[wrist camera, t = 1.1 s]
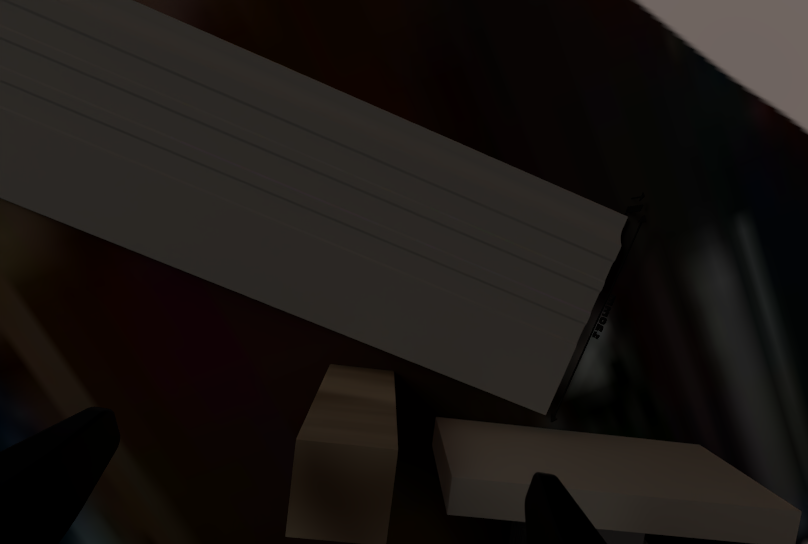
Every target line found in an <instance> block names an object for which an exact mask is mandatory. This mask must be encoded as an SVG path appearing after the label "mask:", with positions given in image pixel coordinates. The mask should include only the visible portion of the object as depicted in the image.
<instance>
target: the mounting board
mask: <svg viewBox="0 0 808 544" xmlns="http://www.w3.org/2000/svg"><path fill="white" fill-rule="evenodd" d="M432 448H433V452H434V457H435V461H436V466H437V471H438V475H439V480H440V484H441V489H442V493H443V498H444V503H445V507H446V512H447V515H457V516H467V517H478V518H488V519H499V520H509V521H520V522H525V497H526V494H527V491H528V489H529V486H530V483H531V480H532V478H533V475H534V474H535V473H536V472H542V473H549V474H553V475H555V476H557V477H558V479H559V480H560V481H561V482H562V484H563V485H564V487H565V488H566V489H567V491H568V492H569V493H570V495H571V496H572V497H573V499H574V500H575V501H576V503H577V504H578V505H579V507H580V508H581V509H582V511H583V512H584V513H585V515H586V516H587V517H588V519H589V520H590V521H591V523H592V524H593V525H594V527H595V528H596V529H605V530H615V531H626V532H636V533H647V534H657V535H668V536H679V537H689V538H700V539H710V540H721V541H731V542H742V543H753V544H795V543H796V538H797V533H798V528H799V523H800V518H801V513H802V511H800V510H799V509H797V508H795V507H794V506H792V505H791V504H789V503H788V502H786V501H785V500H783V499H782V498H780V497H779V496H777V495H776V494H774V493H773V492H771V491H769V490H768V489H766V488H765V487H763V486H762V485H760V484H759V483H757V482H756V481H754V480H753V479H751V478H750V477H748V476H747V475H745V474H744V473H742V472H740V471H739V470H737V469H736V468H734V467H733V466H731V465H730V464H728V463H727V462H725V461H724V460H722V459H721V458H719V457H718V456H716V455H714V454H713V453H711V452H710V451H708V450H707V449H705V448H704V447H702V446H701V445H697V444H688V443H679V442H669V441H660V440H650V439H641V438H631V437H622V436H612V435H603V434H593V433H584V432H575V431H565V430H556V429H546V428H537V427H527V426H518V425H508V424H499V423H489V422H480V421H471V420H461V419H452V418H442V417H436V419H435V426H434V434H433V441H432Z"/></svg>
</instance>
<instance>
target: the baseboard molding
mask: <svg viewBox="0 0 808 544" xmlns="http://www.w3.org/2000/svg"><path fill="white" fill-rule="evenodd" d="M644 197H645V196H644V193H642V195H641V196H640V197H634V198H631V199H635V198H640V200H639V201H641V200H642V199H643V198H644ZM0 198H2V199H4V200H7V201H9V202H12V203H15V204H17V205H20V206H22V207H25V208H27V209H30V210H32V211H35V212H37V213H40V214H42V215H45V216H47V217H50V218H52V219H55V220H57V221H60V222H62V223H65V224H67V225H70V226H72V227H75V228H77V229H80V230H82V231H85V232H87V233H90V234H92V235H95V236H97V237H100V238H102V239H105V240H107V241H110V242H112V243H115V244H117V245H120V246H122V247H125V248H127V249H130V250H132V251H135V252H137V253H140V254H142V255H145V256H147V257H150V258H153V259H155V260H158V261H160V262H163V263H165V264H168V265H170V266H173V267H175V268H178V269H180V270H183V271H185V272H188V273H190V274H193V275H195V276H198V277H200V278H203V279H205V280H208V281H210V282H213V283H215V284H218V285H220V286H223V287H225V288H228V289H230V290H233V291H235V292H238V293H240V294H243V295H245V296H248V297H250V298H253V299H255V300H258V301H260V302H263V303H265V304H268V305H270V306H273V307H275V308H278V309H280V310H283V311H286V312H288V313H291V314H293V315H296V316H298V317H301V318H303V319H306V320H308V321H311V322H313V323H316V324H318V325H321V326H323V327H326V328H328V329H331V330H333V331H336V332H338V333H341V334H343V335H346V336H348V337H351V338H353V339H356V340H358V341H361V342H363V343H366V344H368V345H371V346H373V347H376V348H378V349H381V350H383V351H386V352H388V353H391V354H393V355H396V356H398V357H401V358H403V359H406V360H408V361H411V362H413V363H416V364H419V365H421V366H424V367H426V368H429V369H431V370H434V371H436V372H439V373H441V374H444V375H446V376H449V377H451V378H454V379H456V380H459V381H461V382H464V383H466V384H469V385H471V386H474V387H476V388H479V389H481V390H484V391H486V392H489V393H491V394H494V395H496V396H499V397H501V398H504V399H506V400H509V401H511V402H514V403H516V404H519V405H521V406H524V407H526V408H529V409H531V410H534V411H536V412H539V413H541V414H544V415H546V413H547V411H548V409H549V406H550V404H551V402H552V400H553V398H554V395H555V393H556V391H557V389H558V386H559V384H560V382H561V380H562V377H563V375H564V373H565V371H566V369H567V366H568V364H569V362H570V360H571V357H572V355H573V353H574V351H575V349H576V346H577V342H578V340H579V337H580V335H581V333H582V331H583V328H584V326H585V325H586V324H587V322H588V320H589V317H590V315H591V311H592V308H593V306H594V304H595V302H596V299H597V297H598V295H599V293H600V292H601V291H602V288H603V286H604V284H605V279H606V277H607V275H608V273H609V270H610V268H611V266H612V264H613V262H614V261H615V259H616V257H617V255H618V253H619V250H620V248H621V246H622V245H621V232H622V229H623V227H624V225H625V222H626V220H627V218H628V217H627V216H625V215H626V214H627V213H625V215H622V214H620V213H618V212H615V211H613V210H611V209H609V208H606V207H604V206H602V205H599V204H597V203H595V202H593V201H590V200H588V199H586V198H583V197H581V196H579V195H577V194H574V193H572V192H570V191H567V190H565V189H563V188H561V187H558V186H556V185H554V184H551V183H549V182H547V181H545V180H542V179H540V178H538V177H535V176H533V175H531V174H529V173H526V172H524V171H522V170H519V169H517V168H515V167H513V166H510V165H508V164H506V163H503V162H501V161H499V160H497V159H494V158H492V157H490V156H487V155H485V154H483V153H481V152H478V151H476V150H474V149H471V148H469V147H467V146H465V145H462V144H460V143H458V142H455V141H453V140H451V139H449V138H446V137H444V136H442V135H439V134H437V133H435V132H433V131H430V130H428V129H426V128H423V127H421V126H419V125H417V124H414V123H412V122H410V121H407V120H405V119H403V118H401V117H398V116H396V115H394V114H391V113H389V112H387V111H385V110H382V109H380V108H378V107H375V106H373V105H371V104H369V103H366V102H364V101H362V100H359V99H357V98H355V97H353V96H350V95H348V94H346V93H343V92H341V91H339V90H337V89H334V88H332V87H330V86H327V85H325V84H323V83H321V82H318V81H316V80H314V79H311V78H309V77H307V76H305V75H302V74H300V73H298V72H295V71H293V70H291V69H289V68H286V67H284V66H282V65H279V64H277V63H275V62H273V61H270V60H268V59H266V58H263V57H261V56H259V55H257V54H254V53H252V52H250V51H247V50H245V49H243V48H241V47H238V46H236V45H234V44H231V43H229V42H227V41H225V40H222V39H220V38H218V37H215V36H213V35H211V34H209V33H206V32H204V31H202V30H199V29H197V28H195V27H193V26H190V25H188V24H186V23H183V22H181V21H179V20H177V19H174V18H172V17H170V16H167V15H165V14H163V13H161V12H158V11H156V10H154V9H151V8H149V7H147V6H145V5H142V4H140V3H138V2H135V1H133V0H0ZM640 206H641V207H640ZM642 207H643V205H639V206H638V205H637V206H630V208H629V207H628V208H627V210H626V212H628V213H629V212H638V211H641V209H642ZM639 208H640V209H639ZM638 222H641V223H640V225H639V227H638V229H637V232H636V234H635V236H634V238H633V240H632V243H631V245H630V247H629V249H628V252H627V254H626V256H625V258H624V260H623V263H622V265H621V267H620V269H619V272H618V274H617V276H616V278H615V280H614V283H613V285H612V287H611V289H610V292H609V294H608V296H607V298H606V300H605V303H604V305H603V307H602V309H601V312H600V314H599V316H598V318H597V320H596V323H595V325H594V327H593V329H592V332H591V334H590V336H589V338H588V340H587V343H586V345H585V347H584V349H583V352H582V354H581V356H580V358H579V360H578V363H577V365H576V367H575V369H574V372H573V374H572V376H571V378H570V380H569V383H568V385H567V387H566V389H565V392H564V394H563V396H562V398H561V400H560V403H559V405H558V407H557V409H556V412H555V414H554V415H553V414H552V413H551V422H553V421H555V420H557V418H556V417H555V415H556V413H557V411H558V408H559V406H560V404H561V402H562V399H563V397H564V395H565V393H566V391H567V388H568V386H569V384H570V382H571V379H572V377H573V375H574V373H575V371H576V368H577V366H578V364H579V362H580V359H581V357H582V355H583V353H584V351H585V348H586V346H587V344H588V342H589V340H590V337H591V335H592V333H593V331H594V328H595V326H596V324H597V322H598V320H599V317H600V315H601V313H602V311H603V308H604V306H605V304H606V302H607V300H608V297H609V295H610V293H611V291H612V288H613V286H614V284H615V282H616V280H617V277H618V275H619V273H620V271H621V268H622V266H623V264H624V262H625V260H626V257H627V255H628V253H629V251H630V248H631V246H632V244H633V242H634V240H635V237H636V235H637V233H638V231H639V228H640V226H641V224H642V222H646V218H645V215H644V216H643V217H642V218H641V219H640V220H639V221H638ZM610 297H612V299H609V300H608V301H611V302H610V303H608V302H607V305H610V306H612V305H613V303H614V300H615V298H616V296H614V295H611V296H610ZM605 308H607V310H605V309H604V312H606V313H605V314H603V313H602V315H603V316H605V317H607V316H608V314H609V311H610V309H611V307H609V306H606V307H605ZM602 320H604V321H603V322H602ZM606 321H607V319H606V318H604V317H601V318H600V320H599V323H600V324H603V325H604V324H605V323H606ZM600 324H597V327H596V329H595V330H597V331H598V330H599V329H600V330H599V331H600V332H602V330H603V326H602V325H600ZM596 333H597V332H595V331H594V333H593V335H592V337H594V338H596V339H598V338H599V337H600V335H597V334H596ZM595 336H596V337H595Z"/></svg>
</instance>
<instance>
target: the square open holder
mask: <svg viewBox="0 0 808 544" xmlns="http://www.w3.org/2000/svg"><path fill="white" fill-rule="evenodd" d="M597 531H598V532H599V533H600V535H601V536H602V537H603V539H604V540H605V542H606V543H607V544H648V543H647V542H646V540H645V539H644V536H645V533H636V532H626V531H615V530H605V529H597ZM508 544H527V536H526V522H520V521H512V523H511V530H510V537H509V543H508Z"/></svg>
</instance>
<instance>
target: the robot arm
mask: <svg viewBox="0 0 808 544" xmlns="http://www.w3.org/2000/svg"><path fill="white" fill-rule="evenodd" d="M119 441H120V434H119V430H118V426H117V422H116V418H115V415H114V412H113V411H112V410H111V409H107V408H100V407H90V408H87V409H85V410H83V411H81V412H79V413H77V414H75V415H73V416H71V417H69V418H67V419H65V420H63V421H61V422H59V423H57V424H55V425H53V426H51V427H49V428H47V429H45V430H43V431H41V432H39V433H37V434H35V435H33V436H31V437H29V438H27V439H25V440H23V441H21V442H19V443H17V444H15V445H13V446H11V447H9V448H7V449H5V450H3V451H1V452H0V544H59V542H60V541H61V539H62V538H63V536H64V535H65V534H66V532H67V531H68V529H69V528H70V526H71V525H72V523H73V522H74V520H75V519H76V517H77V516H78V514H79V512H80V511H81V509H82V508H83V506H84V504H85V503H86V501H87V499H88V497H89V496H90V494H91V492H92V491H93V489H94V487H95V485H96V484H97V482H98V480H99V479H100V477H101V475H102V473H103V472H104V470H105V468H106V467H107V465H108V463H109V461H110V460H111V458H112V456H113V455H114V453H115V451H116V449H117V447H118V445H119ZM525 522H526V536H527V544H607V543H606V542H605V540H604V539H603V537H602V536H601V535H600V533H599V532H598V531H597V529H596V528H595V527H594V525H593V524H592V523H591V521H590V520H589V519H588V517H587V516H586V515H585V513H584V512H583V511H582V509H581V508H580V507H579V505H578V504H577V503H576V501H575V500H574V499H573V497H572V496H571V495H570V493H569V492H568V491H567V489H566V488H565V487H564V485H563V484H562V482H561V481H560V480H559V479H558V477H557V476H555V475H553V474H549V473H542V472H536V473H535V474H534V475H533V478H532V480H531V483H530V486H529V489H528V491H527V494H526V497H525Z"/></svg>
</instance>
